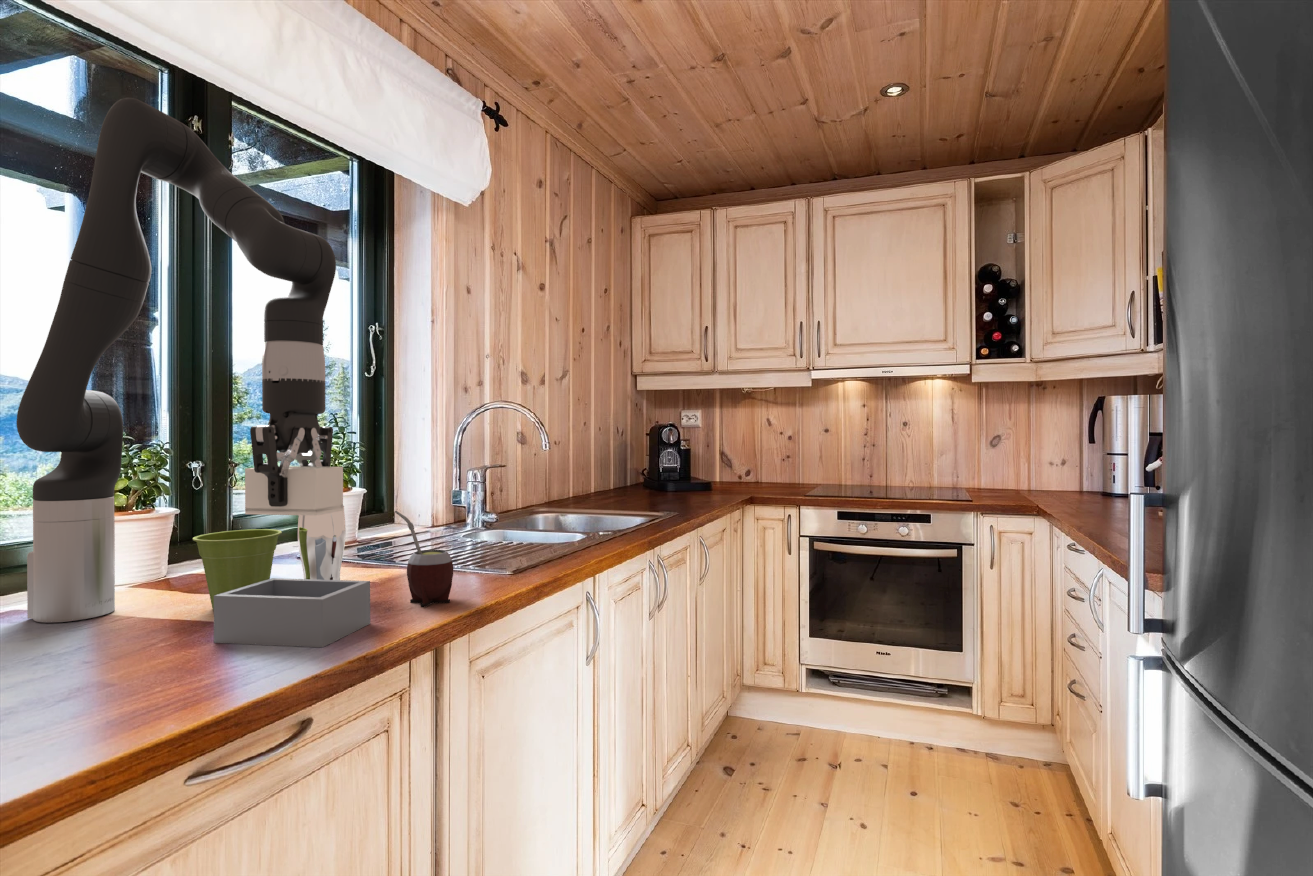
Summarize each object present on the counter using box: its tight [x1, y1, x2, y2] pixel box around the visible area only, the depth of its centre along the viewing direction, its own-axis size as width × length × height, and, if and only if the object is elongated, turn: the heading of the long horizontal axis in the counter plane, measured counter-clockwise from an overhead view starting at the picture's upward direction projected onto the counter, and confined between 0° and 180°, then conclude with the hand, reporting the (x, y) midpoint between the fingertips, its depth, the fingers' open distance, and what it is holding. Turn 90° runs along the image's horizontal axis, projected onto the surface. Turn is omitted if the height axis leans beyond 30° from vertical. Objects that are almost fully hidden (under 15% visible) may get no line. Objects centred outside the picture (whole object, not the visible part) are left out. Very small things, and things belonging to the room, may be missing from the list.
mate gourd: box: [394, 510, 454, 608], centre depth 110 cm, size 8×8×15 cm
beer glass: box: [297, 505, 347, 580], centre depth 112 cm, size 7×7×15 cm
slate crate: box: [213, 577, 371, 648], centre depth 94 cm, size 11×15×6 cm
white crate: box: [244, 465, 344, 516], centre depth 93 cm, size 6×10×6 cm, turn 82°
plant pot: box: [192, 528, 283, 611], centre depth 108 cm, size 12×12×11 cm
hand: (294, 503), depth 93 cm, fingers closed on white crate, 6 cm apart
